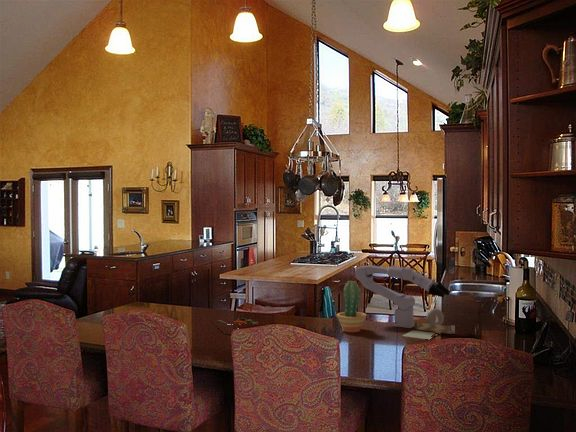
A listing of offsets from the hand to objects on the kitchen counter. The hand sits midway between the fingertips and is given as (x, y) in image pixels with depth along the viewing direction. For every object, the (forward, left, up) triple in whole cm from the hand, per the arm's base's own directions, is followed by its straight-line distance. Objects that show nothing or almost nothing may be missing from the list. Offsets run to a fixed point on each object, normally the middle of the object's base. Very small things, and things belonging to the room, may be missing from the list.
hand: (446, 294), depth 267 cm
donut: (-7, +4, -19) cm, 20 cm away
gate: (-5, -6, -18) cm, 20 cm away
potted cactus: (-41, -23, -19) cm, 51 cm away
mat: (-7, -15, -18) cm, 25 cm away
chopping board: (-97, -44, -19) cm, 109 cm away
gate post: (+5, -6, -18) cm, 20 cm away
